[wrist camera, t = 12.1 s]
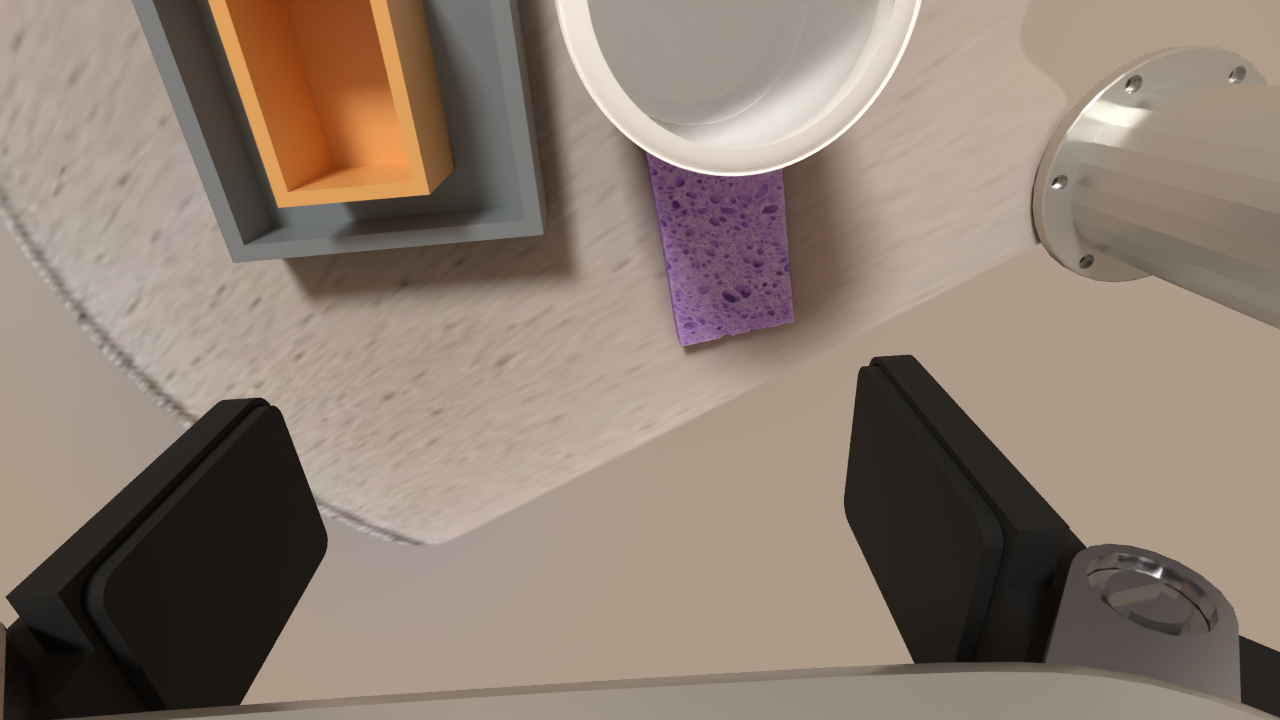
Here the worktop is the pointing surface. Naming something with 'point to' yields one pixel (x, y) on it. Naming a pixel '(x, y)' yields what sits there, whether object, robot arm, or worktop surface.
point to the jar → (735, 73)
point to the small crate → (339, 96)
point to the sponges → (723, 250)
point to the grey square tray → (454, 212)
